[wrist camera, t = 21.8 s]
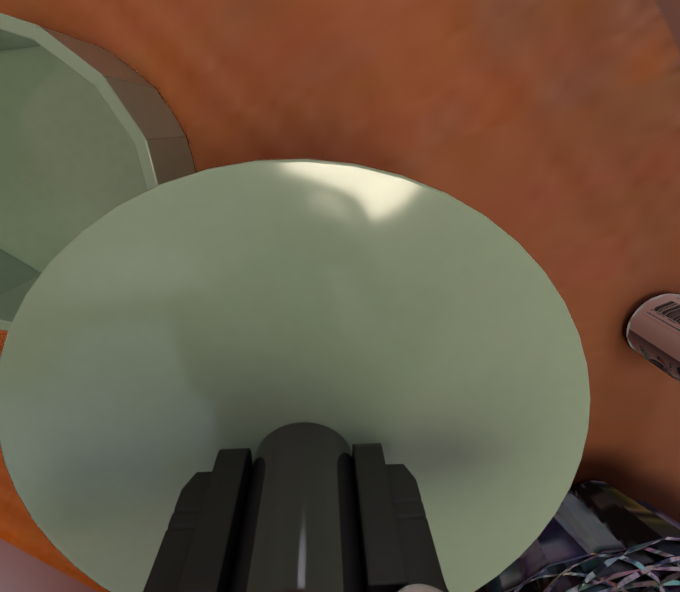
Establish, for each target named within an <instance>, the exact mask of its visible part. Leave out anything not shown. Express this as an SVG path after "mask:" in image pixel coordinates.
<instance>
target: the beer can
mask: <svg viewBox="0 0 680 592" xmlns="http://www.w3.org/2000/svg"><path fill="white" fill-rule="evenodd" d="M626 336H627V340H628V342H629V344H630V346H631V348H633V349H634V350H635V351H636V352H637V353H639V354H640V355H642V356H643V357H644V358H646V359H647V360H649V361H650V362H651V363H653V364H654V365H656V366H657V367H658V368H660V369H661V370H663V371H664V372H665V373H667V374H668V375H670V376H671V377H672V378H674V379H675V380H677V381H678V382H680V295H679V294H662V295H659V296H657V297H654V298H651V299H650V300H648V301H646V302H645V303H643V304H642V305H641V306H640V307H639V308H638V309H637V310H636V311H635V312H634V314H633V315H632V317H631V318H630V321H629V323H628V326H627V335H626Z"/></svg>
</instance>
